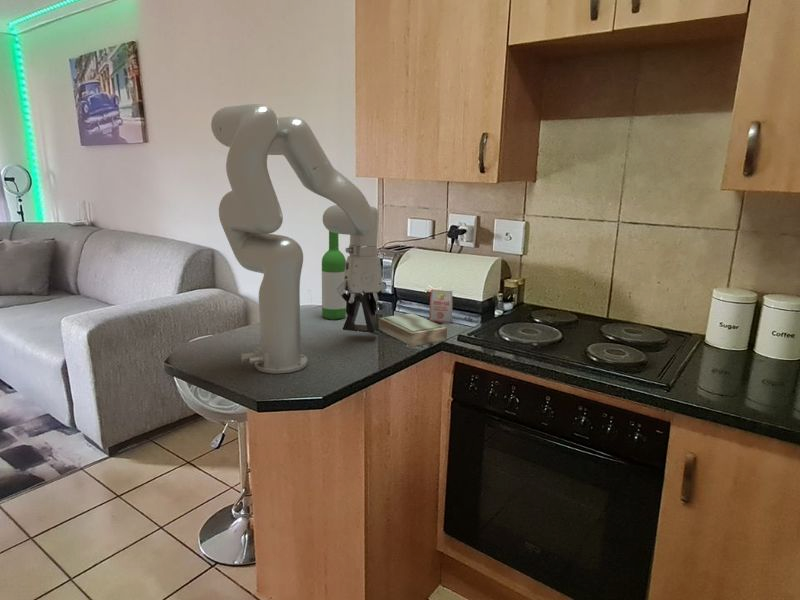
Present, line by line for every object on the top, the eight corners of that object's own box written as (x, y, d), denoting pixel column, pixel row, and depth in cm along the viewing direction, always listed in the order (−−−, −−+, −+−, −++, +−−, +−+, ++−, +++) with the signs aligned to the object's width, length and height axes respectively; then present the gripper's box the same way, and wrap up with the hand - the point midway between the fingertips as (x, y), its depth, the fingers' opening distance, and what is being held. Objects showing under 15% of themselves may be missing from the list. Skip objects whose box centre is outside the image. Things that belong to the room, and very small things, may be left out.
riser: (411, 346, 146) (411, 332, 145) (379, 329, 161) (379, 316, 160) (446, 340, 152) (447, 326, 151) (412, 324, 167) (412, 312, 166)
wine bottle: (317, 316, 174) (316, 224, 167) (338, 312, 179) (338, 223, 172) (329, 321, 168) (328, 226, 161) (350, 318, 173) (350, 225, 166)
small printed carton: (431, 317, 175) (432, 288, 173) (451, 319, 174) (453, 289, 171) (429, 320, 172) (430, 290, 169) (449, 322, 170) (451, 292, 168)
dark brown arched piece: (378, 327, 153) (380, 286, 151) (373, 332, 147) (375, 290, 145) (348, 324, 155) (349, 284, 152) (342, 330, 149) (343, 287, 146)
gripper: (340, 254, 139) (339, 320, 142) (397, 252, 148) (394, 315, 152) (328, 250, 145) (327, 314, 149) (383, 249, 154) (381, 309, 158)
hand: (361, 314), depth 150 cm, fingers closed on dark brown arched piece, 6 cm apart
